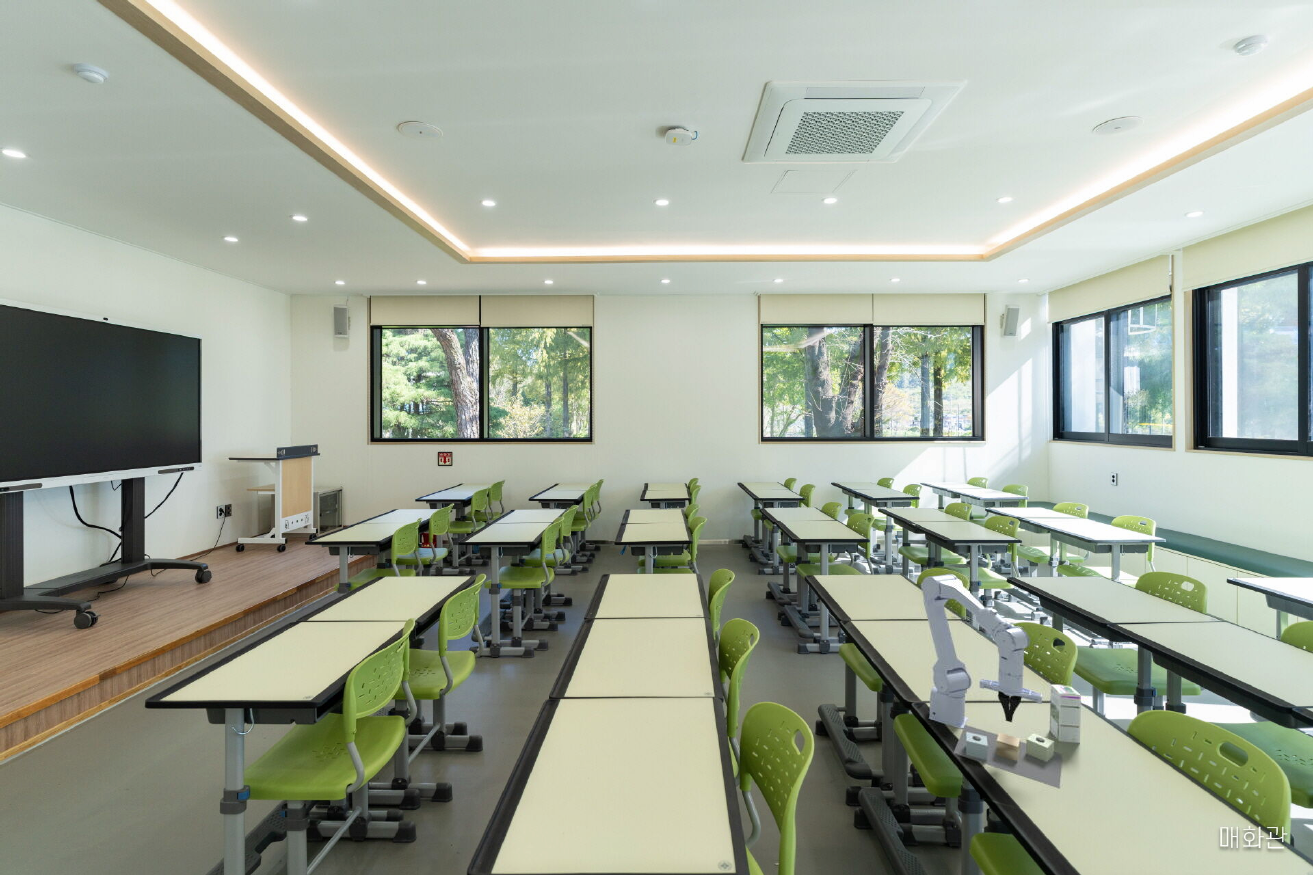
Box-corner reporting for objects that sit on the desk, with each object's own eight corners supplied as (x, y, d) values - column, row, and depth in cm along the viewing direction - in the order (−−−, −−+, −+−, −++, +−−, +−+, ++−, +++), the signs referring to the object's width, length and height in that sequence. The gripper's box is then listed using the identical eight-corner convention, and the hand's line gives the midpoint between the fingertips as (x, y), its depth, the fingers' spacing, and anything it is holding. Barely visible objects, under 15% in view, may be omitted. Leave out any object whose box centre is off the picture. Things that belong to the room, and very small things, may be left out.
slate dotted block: (966, 754, 156) (966, 739, 156) (965, 745, 161) (966, 730, 161) (987, 760, 154) (987, 744, 154) (986, 750, 158) (986, 735, 158)
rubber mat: (953, 754, 157) (953, 752, 157) (965, 725, 172) (965, 724, 171) (1059, 789, 143) (1059, 787, 143) (1062, 755, 157) (1062, 754, 157)
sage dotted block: (1026, 753, 157) (1026, 738, 157) (1033, 746, 160) (1033, 732, 160) (1046, 762, 153) (1047, 746, 153) (1053, 755, 156) (1054, 740, 156)
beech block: (996, 754, 157) (996, 740, 156) (998, 745, 161) (999, 732, 160) (1017, 761, 154) (1018, 746, 153) (1019, 752, 158) (1020, 738, 157)
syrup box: (1080, 744, 162) (1082, 694, 162) (1057, 742, 163) (1059, 692, 163) (1070, 733, 168) (1072, 685, 167) (1048, 731, 169) (1049, 683, 168)
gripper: (978, 669, 157) (976, 717, 158) (1041, 685, 148) (1039, 735, 149) (982, 660, 163) (980, 706, 164) (1043, 675, 154) (1041, 724, 155)
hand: (1009, 719), depth 157 cm, fingers closed
